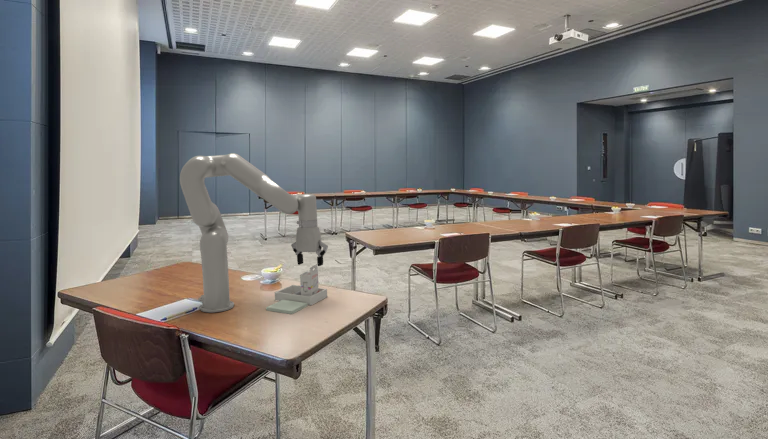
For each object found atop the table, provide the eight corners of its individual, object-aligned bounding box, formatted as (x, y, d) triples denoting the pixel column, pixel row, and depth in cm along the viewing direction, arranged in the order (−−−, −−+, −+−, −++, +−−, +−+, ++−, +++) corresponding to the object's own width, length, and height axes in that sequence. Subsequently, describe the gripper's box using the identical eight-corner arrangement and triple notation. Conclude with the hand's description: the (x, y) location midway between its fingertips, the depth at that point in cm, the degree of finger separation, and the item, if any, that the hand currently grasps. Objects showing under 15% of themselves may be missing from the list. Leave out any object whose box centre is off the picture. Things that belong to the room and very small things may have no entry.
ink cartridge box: (308, 296, 186) (307, 263, 184) (319, 297, 185) (318, 263, 183) (300, 302, 178) (299, 267, 176) (311, 303, 177) (310, 268, 175)
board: (266, 310, 168) (266, 307, 168) (282, 302, 178) (282, 299, 178) (291, 314, 163) (291, 311, 163) (307, 306, 173) (307, 303, 173)
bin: (274, 300, 181) (274, 292, 180) (292, 292, 192) (292, 284, 192) (310, 305, 174) (310, 297, 173) (327, 296, 185) (327, 288, 185)
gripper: (285, 224, 178) (287, 265, 180) (321, 226, 171) (323, 268, 173) (295, 222, 184) (298, 261, 187) (331, 223, 177) (332, 264, 180)
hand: (310, 264), depth 180 cm, fingers open, 9 cm apart
